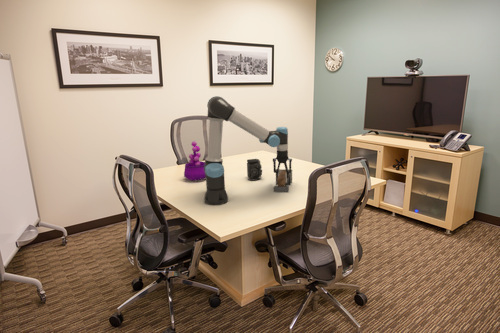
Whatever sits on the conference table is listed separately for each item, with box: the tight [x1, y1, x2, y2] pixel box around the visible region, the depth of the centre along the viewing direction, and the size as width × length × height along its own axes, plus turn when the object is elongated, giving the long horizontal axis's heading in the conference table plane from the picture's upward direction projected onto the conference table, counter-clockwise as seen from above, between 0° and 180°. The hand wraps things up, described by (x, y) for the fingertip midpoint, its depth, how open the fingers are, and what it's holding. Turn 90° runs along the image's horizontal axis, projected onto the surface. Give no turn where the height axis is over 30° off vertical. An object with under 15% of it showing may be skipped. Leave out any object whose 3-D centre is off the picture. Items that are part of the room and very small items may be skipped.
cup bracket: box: [275, 168, 293, 186], centre depth 238 cm, size 12×6×10 cm, turn 78°
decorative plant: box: [183, 141, 206, 182], centre depth 252 cm, size 19×18×30 cm
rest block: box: [272, 185, 290, 193], centre depth 224 cm, size 10×4×4 cm, turn 78°
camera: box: [246, 158, 263, 181], centre depth 251 cm, size 10×10×15 cm
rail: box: [277, 171, 286, 187], centre depth 230 cm, size 4×16×6 cm, turn 166°
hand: (282, 182), depth 231 cm, fingers closed on rail, 5 cm apart
